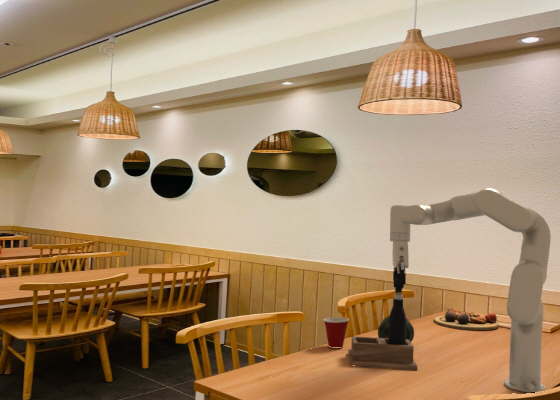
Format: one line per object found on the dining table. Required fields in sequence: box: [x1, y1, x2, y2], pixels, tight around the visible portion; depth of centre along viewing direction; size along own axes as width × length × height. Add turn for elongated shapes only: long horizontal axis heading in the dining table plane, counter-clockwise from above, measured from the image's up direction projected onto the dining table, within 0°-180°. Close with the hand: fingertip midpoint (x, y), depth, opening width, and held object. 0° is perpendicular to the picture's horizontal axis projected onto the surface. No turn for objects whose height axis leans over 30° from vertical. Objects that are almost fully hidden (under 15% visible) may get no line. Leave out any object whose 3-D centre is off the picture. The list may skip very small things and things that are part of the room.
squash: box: [377, 315, 415, 343], centre depth 226 cm, size 14×15×15 cm
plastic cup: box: [322, 317, 350, 348], centre depth 219 cm, size 11×11×12 cm
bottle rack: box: [347, 336, 418, 371], centre depth 201 cm, size 18×24×8 cm
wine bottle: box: [388, 278, 407, 345], centre depth 201 cm, size 6×6×30 cm
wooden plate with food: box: [433, 308, 499, 331], centre depth 278 cm, size 32×32×8 cm
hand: (399, 282), depth 201 cm, fingers open, 9 cm apart
